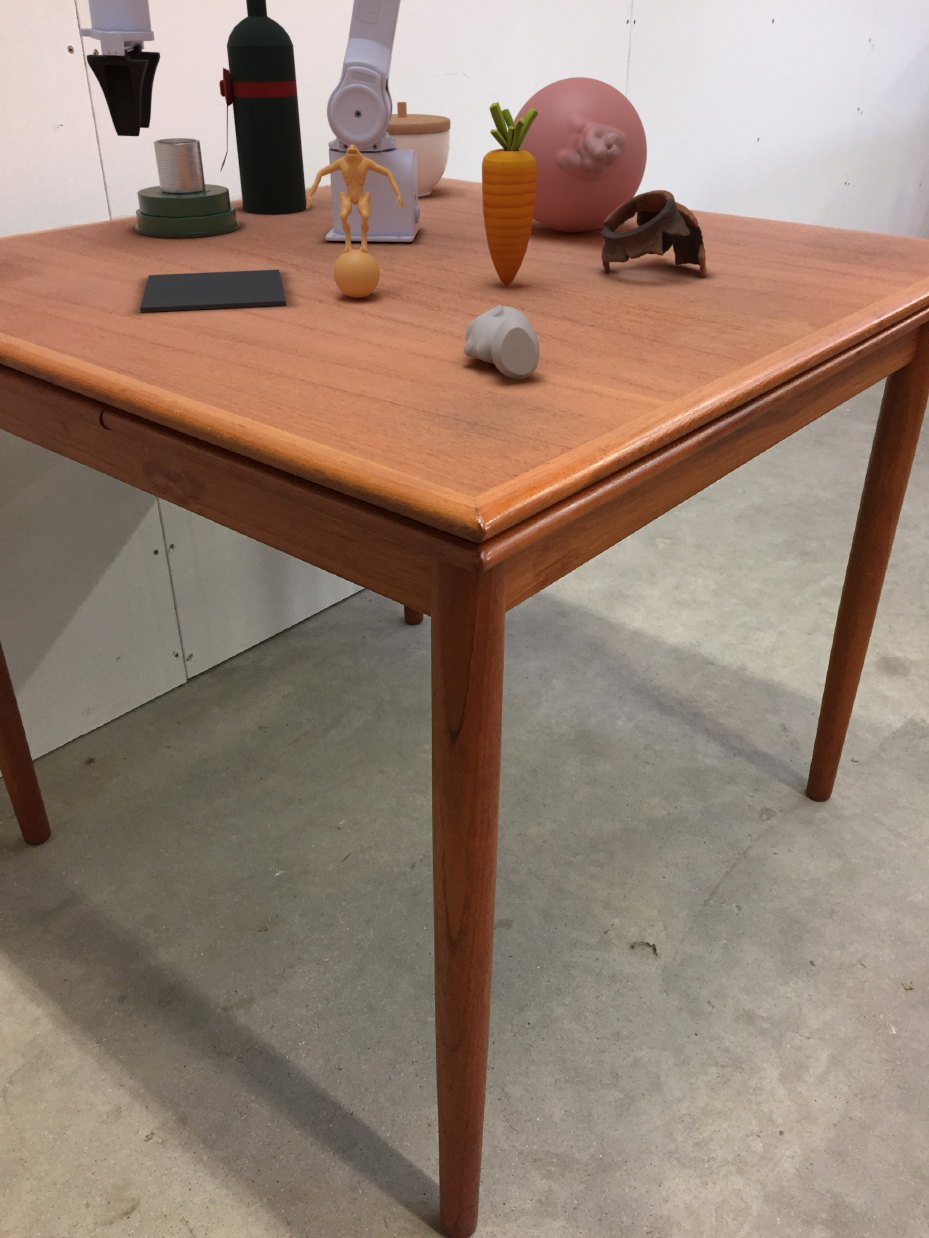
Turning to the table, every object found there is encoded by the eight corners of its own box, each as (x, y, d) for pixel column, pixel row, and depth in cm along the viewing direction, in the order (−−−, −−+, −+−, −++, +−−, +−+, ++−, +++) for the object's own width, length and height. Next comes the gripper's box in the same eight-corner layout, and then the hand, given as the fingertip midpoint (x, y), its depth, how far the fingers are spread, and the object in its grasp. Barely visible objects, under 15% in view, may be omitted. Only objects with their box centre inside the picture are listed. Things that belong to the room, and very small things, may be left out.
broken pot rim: (719, 289, 93) (689, 211, 88) (623, 329, 96) (589, 256, 91) (706, 230, 101) (678, 155, 96) (618, 269, 105) (587, 198, 99)
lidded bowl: (346, 200, 132) (341, 105, 126) (370, 185, 142) (366, 97, 136) (441, 202, 130) (440, 107, 124) (458, 187, 140) (458, 99, 135)
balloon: (513, 254, 103) (517, 85, 95) (498, 219, 120) (501, 73, 112) (661, 253, 104) (678, 85, 96) (626, 218, 121) (638, 73, 113)
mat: (279, 273, 96) (278, 269, 96) (286, 305, 86) (285, 300, 86) (149, 279, 94) (148, 275, 93) (140, 312, 84) (139, 307, 83)
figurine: (307, 302, 87) (295, 150, 80) (316, 286, 92) (305, 141, 85) (404, 303, 87) (399, 150, 80) (407, 286, 92) (403, 141, 85)
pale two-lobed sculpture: (468, 366, 75) (533, 344, 75) (479, 400, 68) (551, 375, 68) (450, 310, 73) (517, 287, 73) (460, 339, 66) (534, 314, 66)
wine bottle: (224, 205, 128) (191, -81, 112) (304, 202, 130) (283, -80, 114) (224, 216, 122) (188, -86, 106) (308, 213, 123) (286, -85, 108)
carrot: (539, 282, 93) (547, 100, 85) (525, 294, 89) (531, 105, 81) (489, 277, 95) (491, 99, 87) (472, 290, 91) (472, 103, 83)
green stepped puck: (250, 219, 120) (246, 182, 117) (225, 239, 110) (220, 199, 108) (154, 218, 120) (149, 181, 118) (120, 237, 110) (114, 198, 108)
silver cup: (210, 187, 115) (204, 138, 112) (198, 194, 111) (192, 143, 108) (168, 186, 115) (161, 137, 112) (154, 193, 111) (147, 143, 108)
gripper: (87, -23, 104) (106, 123, 111) (57, -26, 92) (81, 138, 99) (157, -20, 105) (171, 125, 112) (137, -22, 93) (155, 140, 100)
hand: (133, 131), depth 105 cm, fingers open, 7 cm apart
